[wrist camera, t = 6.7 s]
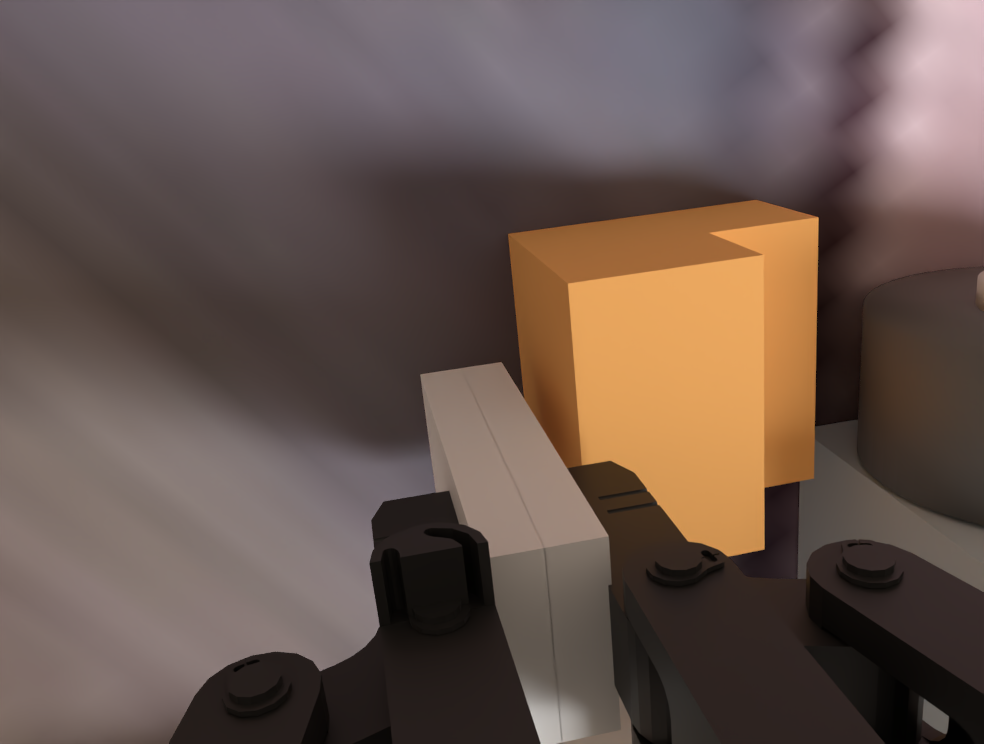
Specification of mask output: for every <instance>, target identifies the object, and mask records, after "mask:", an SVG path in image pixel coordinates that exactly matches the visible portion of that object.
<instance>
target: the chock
mask: <svg viewBox="0 0 984 744" xmlns="http://www.w3.org/2000/svg"><path fill="white" fill-rule="evenodd" d="M818 222H819V217H816V216H812V215H809V214H805V213H801V212H798V211H794V210H791V209H787V208H784V207H780V206H777V205H773V204H769V203H766V202H762V201H759V200H751V201H744V202H737V203H729V204H722V205H715V206H707V207H700V208H693V209H685V210H678V211H671V212H663V213H656V214H649V215H642V216H634V217H627V218H620V219H612V220H605V221H598V222H590V223H583V224H576V225H568V226H561V227H554V228H546V229H539V230H532V231H525V232H517V233H510V234H508V239H509V249H510V259H511V269H512V280H513V290H514V300H515V310H516V321H517V331H518V341H519V351H520V361H521V372H522V382H523V392H524V399H525V401H526V403H527V404H528V406H529V407H530V409H531V411H532V412H533V414H534V416H535V417H536V419H537V420H538V422H539V424H540V425H541V427H542V429H543V430H544V432H545V433H546V435H547V437H548V438H549V440H550V442H551V443H552V445H553V446H554V448H555V450H556V451H557V453H558V455H559V456H560V458H561V459H562V461H563V463H564V464H565V466H566V468H570V467H576V466H582V465H588V464H594V463H600V462H606V461H612V462H614V463H616V464H618V465H620V466H622V467H624V468H626V469H628V470H630V471H632V472H634V473H635V474H636V475H637V477H638V478H639V479H640V480H641V482H642V483H643V484H644V486H645V487H646V488H647V492H650V493H651V495H652V496H653V497H654V498H655V500H656V501H657V505H660V506H661V507H662V509H663V510H664V511H665V513H666V514H667V515H668V516H669V518H670V519H671V520H672V522H673V523H674V524H675V525H676V527H677V528H678V529H679V531H680V532H681V533H682V534H683V536H684V537H685V538H686V540H687V541H688V542H696V543H702V544H704V545H707V546H710V547H713V548H715V549H718V550H720V551H721V552H722V553H724V554H725V555H726V556H728V557H729V556H734V555H739V554H744V553H749V552H754V551H760V550H765V542H764V488H765V487H771V486H776V485H782V484H787V483H792V482H798V481H803V480H809V479H814V449H815V392H816V336H817V279H818Z"/></svg>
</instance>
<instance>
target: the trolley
mask: <svg viewBox="0 0 984 744" xmlns="http://www.w3.org/2000/svg"><path fill="white" fill-rule="evenodd" d="M853 539H856V540H859V539H863V540H872V541H875V542H880V543H885V544H890V545H894V546H896V547H898V548H901V549H903V550H906V551H908V552H911V553H913V554H915V555H917V556H919V557H920V558H922V559H924V560H926V561H928V562H929V563H931V564H933V565H935V566H937V567H939V568H940V569H942V570H944V571H946V572H948V573H950V574H951V575H953V576H955V577H957V578H959V579H961V580H962V581H964V582H966V583H968V584H970V585H971V586H973V587H975V588H977V589H979V590H981V591H982V592H984V267H970V268H958V269H949V270H941V271H934V272H928V273H922V274H917V275H913V276H908V277H904V278H901V279H897V280H894V281H891V282H888V283H886V284H883V285H881V286H879V287H877V288H875V289H874V290H872V291H871V292H870V293H869V294H868V295H867V296H866V297H865V299H864V304H863V322H862V345H861V367H860V389H859V412H858V420H852V421H845V422H839V423H833V424H827V425H821V426H815V449H814V479H809V480H803V481H800V491H799V536H798V579H806V563H807V561H808V559H809V557H810V556H811V554H812V552H814V551H815V550H817V549H819V548H820V547H822V546H824V545H826V544H830V543H835V542H839V541H844V540H853ZM922 720H923V721H925V722H926V723H928V724H929V725H930V726H932V727H933V728H934V729H936V730H938V731H940V732H942V733H944V734H946V733H947V730H948V722H949V716H947V715H946V714H945V713H943V712H942V711H940V710H939V709H938V708H936V707H935V706H933V705H932V704H931V703H929V702H928V701H926V700H925V699H924V705H923V718H922Z"/></svg>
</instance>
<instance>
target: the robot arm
mask: <svg viewBox="0 0 984 744" xmlns="http://www.w3.org/2000/svg"><path fill="white" fill-rule="evenodd" d="M420 377H421V385H422V392H423V400H424V407H425V415H426V422H427V430H428V437H429V445H430V452H431V460H432V467H433V475H434V482H435V490H436V493H432V494H426V495H420V496H414V497H408V498H402V499H396V500H390V501H385V502H383V503H382V505H381V506H380V508H379V509H378V511H377V512H376V514H375V516H374V517H373V519H372V520H371V521H372V531H373V540H374V550H373V552H372V556H371V559H370V569H371V575H372V581H373V587H374V593H375V599H376V605H377V611H378V617H379V623H380V627H379V629H378V631H377V633H376V635H375V637H374V638H373V639H372V640H371V641H370V642H369V643H368V644H367V645H366V647H364V648H363V649H362V650H360V651H359V652H358V653H356V654H355V655H354V656H352V657H350V658H348V659H346V660H344V661H342V662H340V663H339V664H337V665H334V666H332V667H330V668H327V669H325V670H322V671H319V670H318V668H317V667H316V665H315V664H314V662H313V661H311V660H309V659H307V658H305V657H303V656H301V655H299V654H295V653H284V652H271V653H265V654H259V655H253V656H250V657H248V658H245V659H242V660H240V661H237V662H235V663H232V664H230V665H228V666H226V667H225V668H224V669H222V670H221V671H219V672H218V673H216V674H215V675H213V676H212V677H210V678H209V679H208V680H207V681H206V683H205V684H204V685H203V686H202V687H201V689H200V690H199V691H198V692H197V694H196V695H195V697H194V698H193V700H192V702H191V704H190V706H189V707H188V709H187V711H186V713H185V715H184V717H183V718H182V720H181V722H180V724H179V726H178V727H177V729H176V731H175V733H174V735H173V737H172V738H171V740H170V742H169V744H557V743H561V742H566V741H571V740H576V739H580V738H585V737H590V736H595V735H599V734H604V733H609V732H613V731H618V730H621V724H620V708H619V696H620V698H621V700H622V702H623V704H624V706H625V708H626V711H627V713H628V715H629V717H630V719H631V733H632V744H984V592H982V591H981V590H979V589H977V588H975V587H973V586H971V585H970V584H968V583H966V582H964V581H962V580H961V579H959V578H957V577H955V576H953V575H951V574H950V573H948V572H946V571H944V570H942V569H940V568H939V567H937V566H935V565H933V564H931V563H929V562H928V561H926V560H924V559H922V558H920V557H919V556H917V555H915V554H913V553H911V552H908V551H906V550H903V549H901V548H898V547H896V546H894V545H890V544H885V543H880V542H875V541H872V540H863V539H859V540H856V539H853V540H844V541H839V542H835V543H830V544H826V545H824V546H822V547H820V548H819V549H817V550H815V551H814V552H812V554H811V556H810V557H809V559H808V561H807V563H806V579H774V578H755V577H747V576H745V575H744V574H743V573H742V571H741V570H740V569H739V568H738V567H737V565H736V564H735V563H734V562H733V561H732V559H730V558H729V557H728V556H726V555H725V554H724V553H722V552H721V551H720V550H718V549H715V548H713V547H710V546H707V545H704V544H702V543H696V542H688V541H687V540H686V538H685V537H684V536H683V534H682V533H681V532H680V531H679V529H678V528H677V527H676V525H675V524H674V523H673V522H672V520H671V519H670V518H669V516H668V515H667V514H666V513H665V511H664V510H663V509H662V507H661V506H660V505H657V501H656V500H655V498H654V497H653V496H652V495H651V493H650V492H647V488H646V487H645V486H644V484H643V483H642V482H641V480H640V479H639V478H638V477H637V475H636V474H635V473H634V472H632V471H630V470H628V469H626V468H624V467H622V466H620V465H618V464H616V463H614V462H612V461H606V462H600V463H594V464H588V465H582V466H576V467H570V468H566V466H565V464H564V463H563V461H562V459H561V458H560V456H559V455H558V453H557V451H556V450H555V448H554V446H553V445H552V443H551V442H550V440H549V438H548V437H547V435H546V433H545V432H544V430H543V429H542V427H541V425H540V424H539V422H538V420H537V419H536V417H535V416H534V414H533V412H532V411H531V409H530V407H529V406H528V404H527V403H526V401H525V399H524V398H523V396H522V394H521V393H520V391H519V390H518V388H517V386H516V385H515V383H514V381H513V380H512V378H511V377H510V375H509V373H508V372H507V370H506V368H505V367H504V365H503V364H502V362H499V363H492V364H485V365H479V366H472V367H466V368H459V369H452V370H446V371H439V372H433V373H426V374H420ZM924 699H925V700H926V701H928V702H929V703H931V704H932V705H933V706H935V707H936V708H938V709H939V710H940V711H942V712H943V713H945V714H946V715H947V716H949V722H948V730H947V733H946V734H944V733H942V732H940V731H938V730H936V729H934V728H933V727H932V726H930V725H929V724H928V723H926V722H925V721H923V720H922V718H923V705H924Z"/></svg>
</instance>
